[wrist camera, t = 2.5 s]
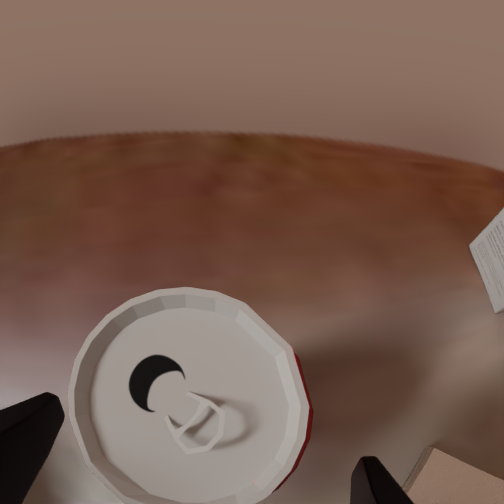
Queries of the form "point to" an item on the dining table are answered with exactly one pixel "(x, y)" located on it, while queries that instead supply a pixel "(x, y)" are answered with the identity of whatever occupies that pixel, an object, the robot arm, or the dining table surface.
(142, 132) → the dining table surface
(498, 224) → the skincare box
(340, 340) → the dining table surface
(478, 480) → the cup bracket
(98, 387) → the soda can
